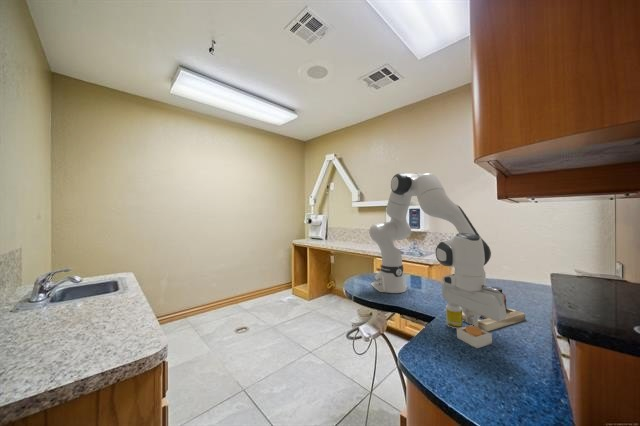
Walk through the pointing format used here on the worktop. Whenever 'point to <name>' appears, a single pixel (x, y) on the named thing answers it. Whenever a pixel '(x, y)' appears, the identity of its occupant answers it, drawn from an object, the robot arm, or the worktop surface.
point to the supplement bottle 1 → (454, 316)
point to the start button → (474, 330)
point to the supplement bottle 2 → (503, 295)
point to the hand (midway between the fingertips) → (471, 322)
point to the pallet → (490, 324)
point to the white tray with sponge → (474, 338)
